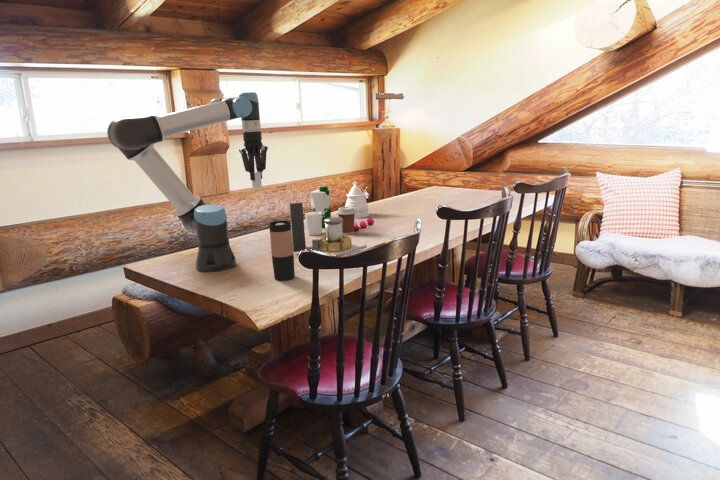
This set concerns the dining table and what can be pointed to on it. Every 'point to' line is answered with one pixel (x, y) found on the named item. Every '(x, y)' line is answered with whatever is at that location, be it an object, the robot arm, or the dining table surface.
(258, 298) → the dining table surface
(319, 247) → the grey and gold stand
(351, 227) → the coffee cup
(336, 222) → the white lidded jar
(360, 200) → the honey pot
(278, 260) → the travel mug
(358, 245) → the base plate
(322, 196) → the milk carton
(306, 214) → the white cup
